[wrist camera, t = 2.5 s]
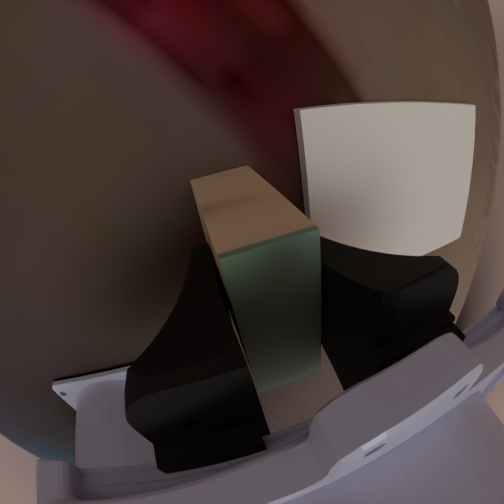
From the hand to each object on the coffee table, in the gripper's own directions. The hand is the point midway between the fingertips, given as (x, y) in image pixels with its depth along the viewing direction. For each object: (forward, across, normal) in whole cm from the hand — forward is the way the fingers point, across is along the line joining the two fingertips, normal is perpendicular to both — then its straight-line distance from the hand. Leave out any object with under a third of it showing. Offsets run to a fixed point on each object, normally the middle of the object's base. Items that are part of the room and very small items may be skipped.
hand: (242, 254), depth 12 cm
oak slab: (+2, 0, 0) cm, 2 cm away
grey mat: (+2, -10, 0) cm, 10 cm away
